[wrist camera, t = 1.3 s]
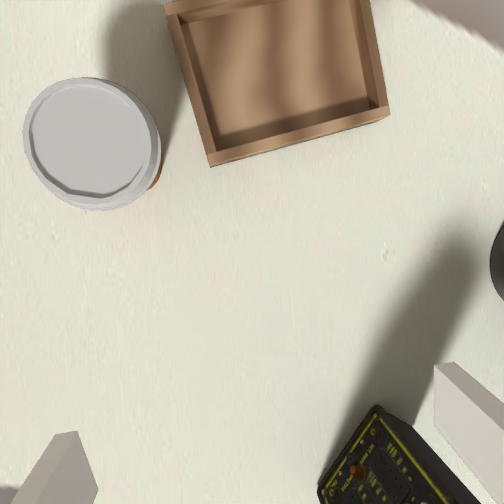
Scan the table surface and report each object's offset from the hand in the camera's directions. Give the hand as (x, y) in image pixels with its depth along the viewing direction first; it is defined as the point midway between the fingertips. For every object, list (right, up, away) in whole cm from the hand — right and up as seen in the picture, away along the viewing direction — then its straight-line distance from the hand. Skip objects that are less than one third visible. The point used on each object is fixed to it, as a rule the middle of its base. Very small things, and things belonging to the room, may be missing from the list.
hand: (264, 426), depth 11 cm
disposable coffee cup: (-13, +16, +22) cm, 31 cm away
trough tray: (+2, +26, +23) cm, 34 cm away
